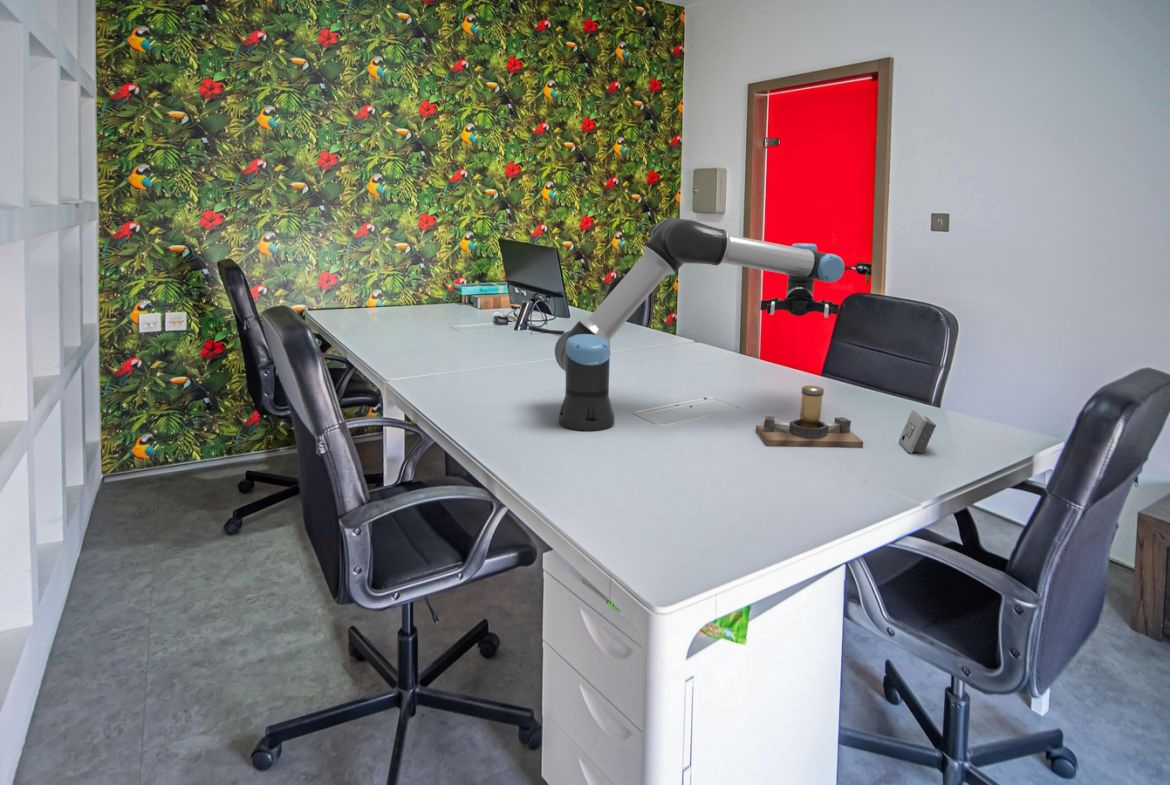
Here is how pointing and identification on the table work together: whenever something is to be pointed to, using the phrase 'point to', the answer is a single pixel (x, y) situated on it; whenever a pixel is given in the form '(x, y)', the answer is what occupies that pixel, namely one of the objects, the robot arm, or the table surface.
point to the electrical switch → (916, 433)
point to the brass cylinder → (811, 406)
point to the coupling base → (808, 434)
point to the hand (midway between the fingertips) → (799, 311)
